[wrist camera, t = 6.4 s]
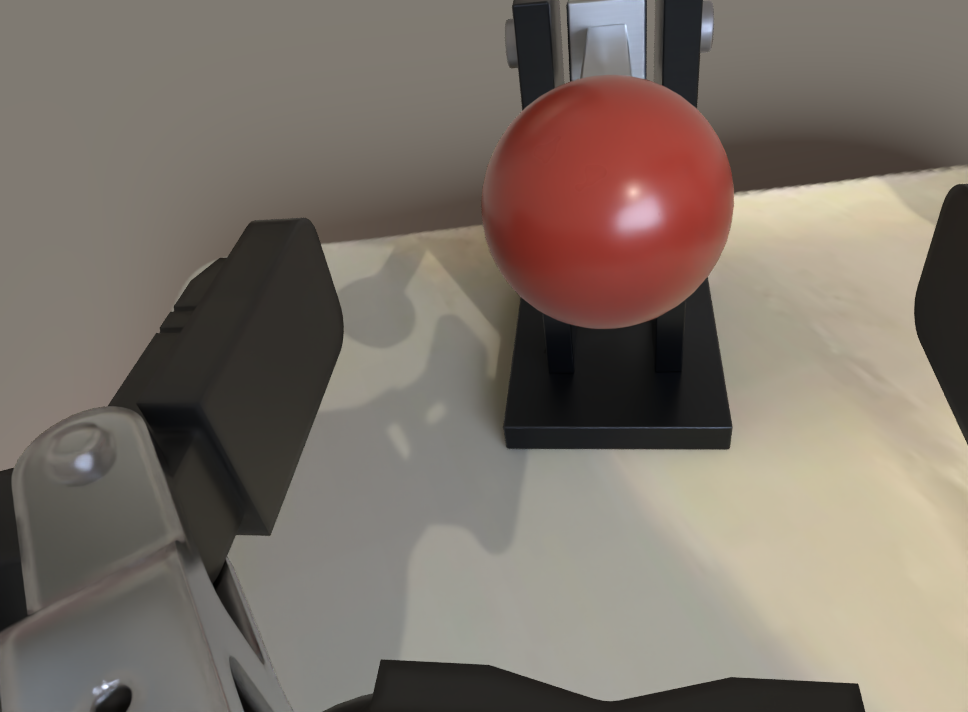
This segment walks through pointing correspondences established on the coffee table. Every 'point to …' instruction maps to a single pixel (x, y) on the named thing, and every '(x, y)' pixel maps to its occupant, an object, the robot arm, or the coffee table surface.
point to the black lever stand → (630, 350)
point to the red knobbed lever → (607, 184)
